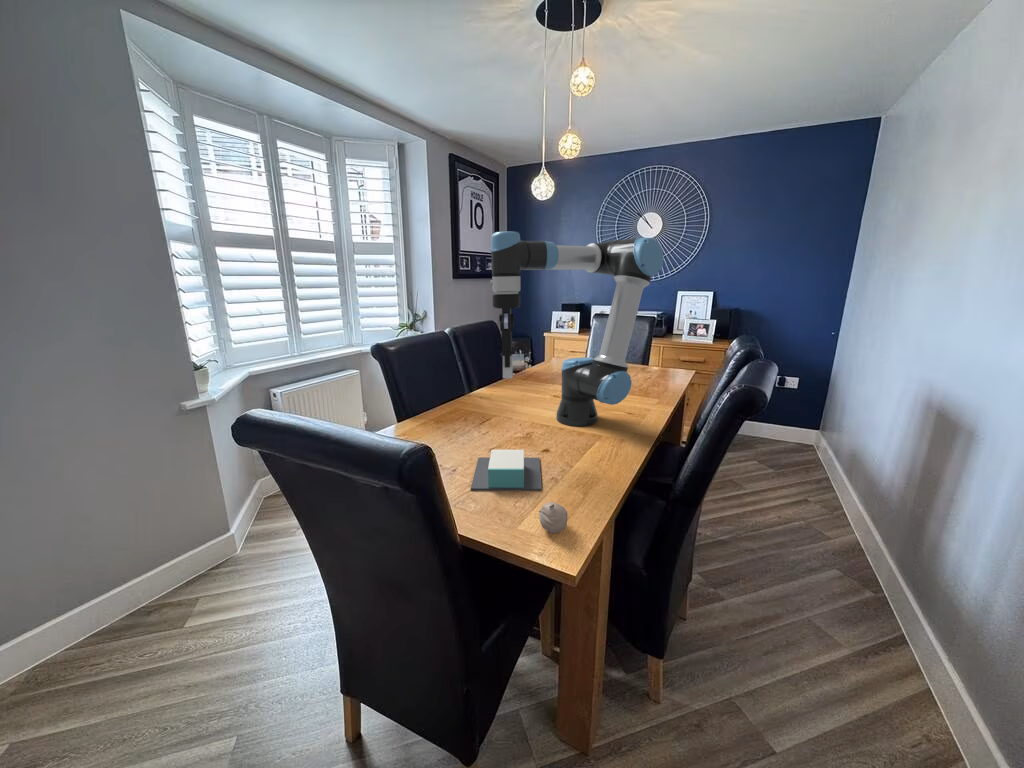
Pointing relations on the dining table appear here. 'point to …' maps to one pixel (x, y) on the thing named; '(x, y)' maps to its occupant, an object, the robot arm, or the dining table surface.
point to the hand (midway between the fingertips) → (507, 377)
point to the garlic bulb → (553, 517)
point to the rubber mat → (530, 484)
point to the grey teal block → (506, 469)
